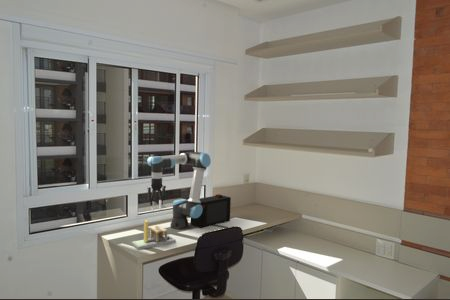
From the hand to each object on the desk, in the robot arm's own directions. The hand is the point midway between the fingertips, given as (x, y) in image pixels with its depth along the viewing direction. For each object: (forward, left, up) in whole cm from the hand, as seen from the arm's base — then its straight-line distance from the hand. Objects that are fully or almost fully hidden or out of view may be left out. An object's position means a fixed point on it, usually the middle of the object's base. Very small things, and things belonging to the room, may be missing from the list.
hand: (156, 209), depth 246 cm
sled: (+1, 0, -22) cm, 22 cm away
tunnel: (-2, 0, -23) cm, 23 cm away
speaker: (-62, -24, -25) cm, 71 cm away
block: (-2, 0, -21) cm, 21 cm away
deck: (+2, 0, -25) cm, 25 cm away
